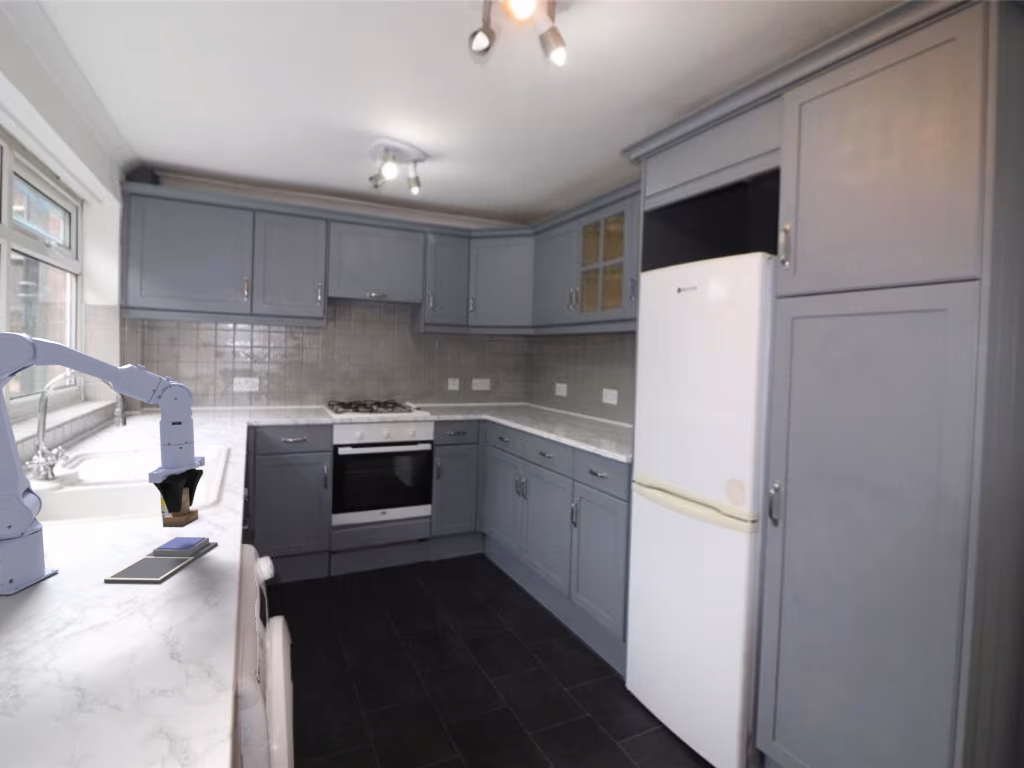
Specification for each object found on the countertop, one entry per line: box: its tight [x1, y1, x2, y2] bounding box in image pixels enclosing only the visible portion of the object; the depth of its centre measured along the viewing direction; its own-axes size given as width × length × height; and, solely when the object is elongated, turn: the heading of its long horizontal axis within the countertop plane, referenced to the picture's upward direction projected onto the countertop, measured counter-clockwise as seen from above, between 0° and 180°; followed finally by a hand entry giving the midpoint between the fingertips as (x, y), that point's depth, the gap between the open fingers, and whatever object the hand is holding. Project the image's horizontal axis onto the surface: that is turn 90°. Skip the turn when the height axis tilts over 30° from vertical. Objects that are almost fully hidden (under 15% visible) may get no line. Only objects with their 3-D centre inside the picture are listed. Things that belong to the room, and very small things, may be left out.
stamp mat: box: [103, 536, 219, 584], centre depth 103 cm, size 18×10×2 cm, turn 179°
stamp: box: [162, 487, 199, 528], centre depth 108 cm, size 5×4×7 cm
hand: (180, 508), depth 108 cm, fingers closed on stamp, 3 cm apart
